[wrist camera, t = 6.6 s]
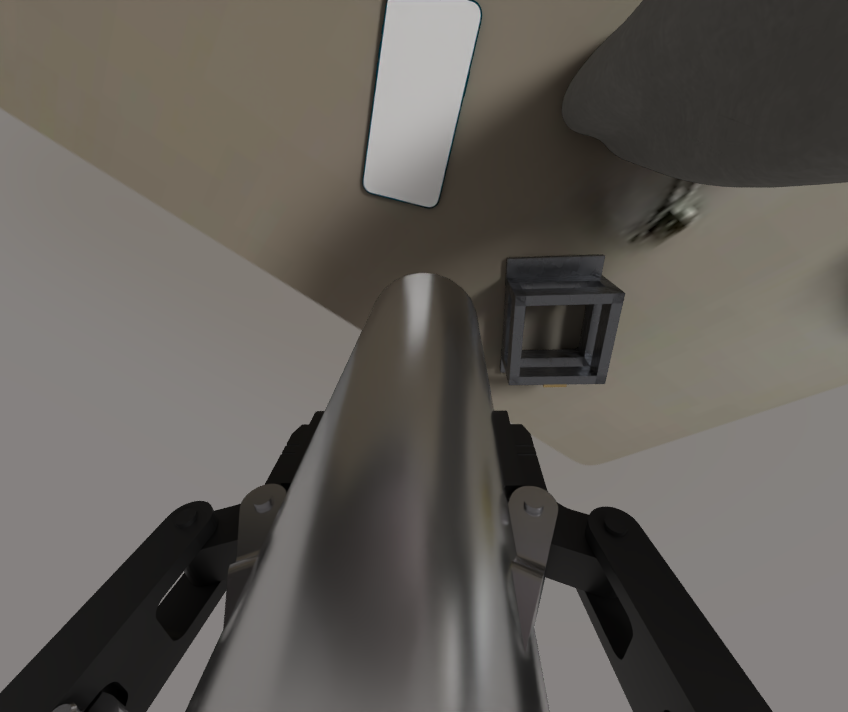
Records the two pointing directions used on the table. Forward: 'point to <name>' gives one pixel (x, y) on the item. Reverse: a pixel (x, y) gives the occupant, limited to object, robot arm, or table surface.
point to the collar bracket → (560, 286)
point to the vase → (722, 91)
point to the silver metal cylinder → (389, 540)
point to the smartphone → (418, 96)
